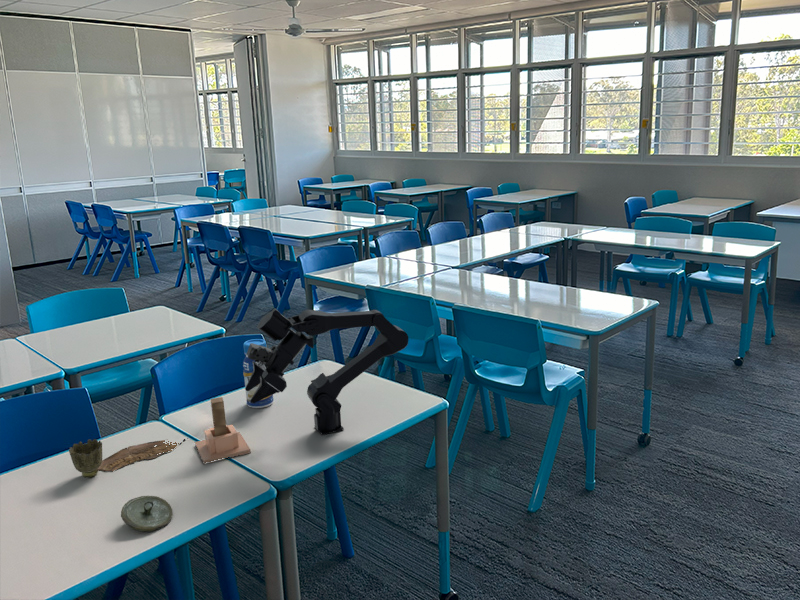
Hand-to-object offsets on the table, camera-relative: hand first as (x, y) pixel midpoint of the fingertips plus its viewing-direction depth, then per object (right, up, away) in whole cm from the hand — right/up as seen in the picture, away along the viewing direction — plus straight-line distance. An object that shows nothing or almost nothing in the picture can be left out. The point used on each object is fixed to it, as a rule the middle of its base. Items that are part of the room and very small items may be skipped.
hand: (248, 396), depth 174 cm
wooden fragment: (-28, -16, +1) cm, 32 cm away
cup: (-37, -18, -10) cm, 43 cm away
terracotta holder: (-7, -14, +1) cm, 16 cm away
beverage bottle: (-3, -7, +30) cm, 31 cm away
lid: (-15, -23, -31) cm, 41 cm away
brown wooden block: (-7, -13, 0) cm, 15 cm away
